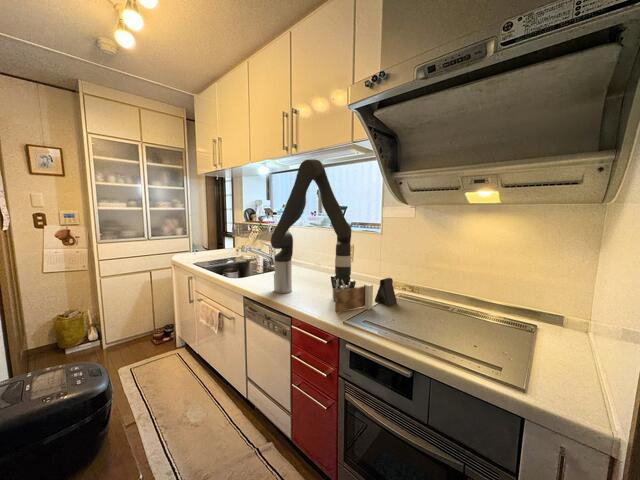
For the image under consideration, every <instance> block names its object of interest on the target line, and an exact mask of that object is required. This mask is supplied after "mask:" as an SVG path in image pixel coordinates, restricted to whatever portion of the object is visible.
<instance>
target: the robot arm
mask: <svg viewBox="0 0 640 480" xmlns="http://www.w3.org/2000/svg"><path fill="white" fill-rule="evenodd" d="M312 181H314V182H315V185H316V186H317V187H318V190H319V193H320V199H321V200H320V201H321V205H322V207H323V209H324V211H325V213H326V216H327V217H328V219H329V221H330V223H331V226H332V228H333V230H334V233H335V234H336V244H335V257H334V258H335V259H334V275H332V276H330V282H331V288H332V290H333V289H337V288H340V287H343V288H344V289H350V288H355V287H356V284H357V283H356V280H353V279H352V278H351V275H352V274H351V273H352V256H351V255H352V254H351V251H352V250H351V249H352V248H351V242H352V241H351V240H352V226H351V225H350V223H348V221H347V219H346V218H345V216H344V212H343V210H342V208H341V206H340V203H339V202H338V200H337V198H336V196H335V194H334V192H333V189H332V187H331V184H330V181H329V178H328V174H327V172H326V169H325V167H324V164H323V163H322V161H321V160H319V159H315V158H313V159H312V158H311V159H305V160H303V161H302V162H301V163H300V164H299V167H298V170H297V173H296V177H295V180H294V184H293V187H292V189H291V191H290V194H289V197H288V198H287V201H286V203H285V205H284V209H283V211H282V214H281V215H280V219H279V220H278V223H277V225H276V227H275V228H274V230H273V232H272V234H271V237H270V245H271V248H273V249H276V250H280V251H279V252H278V253H277V254H275V255H274V273H273V286H274V287H273V290H274V292H275V293H277V294H287V293H288V294H289V293H291V292H292V290H293V285H292V283H293V281H292V280H293V279H292V277H293V276H292V271H293V270H292V268H293V267H292V257H293V251H294V238H293V233H292V232H290V231H288V230H289V229H290V228H291V227H292V226H293V225H295V224H296V223H297V222H298V220H300V219H301V217H302V215H303V213H304V211H305V208H306V205H307V192H308V189H309V188H310V185H311V183H312ZM334 284H335V286H334Z"/></svg>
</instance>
